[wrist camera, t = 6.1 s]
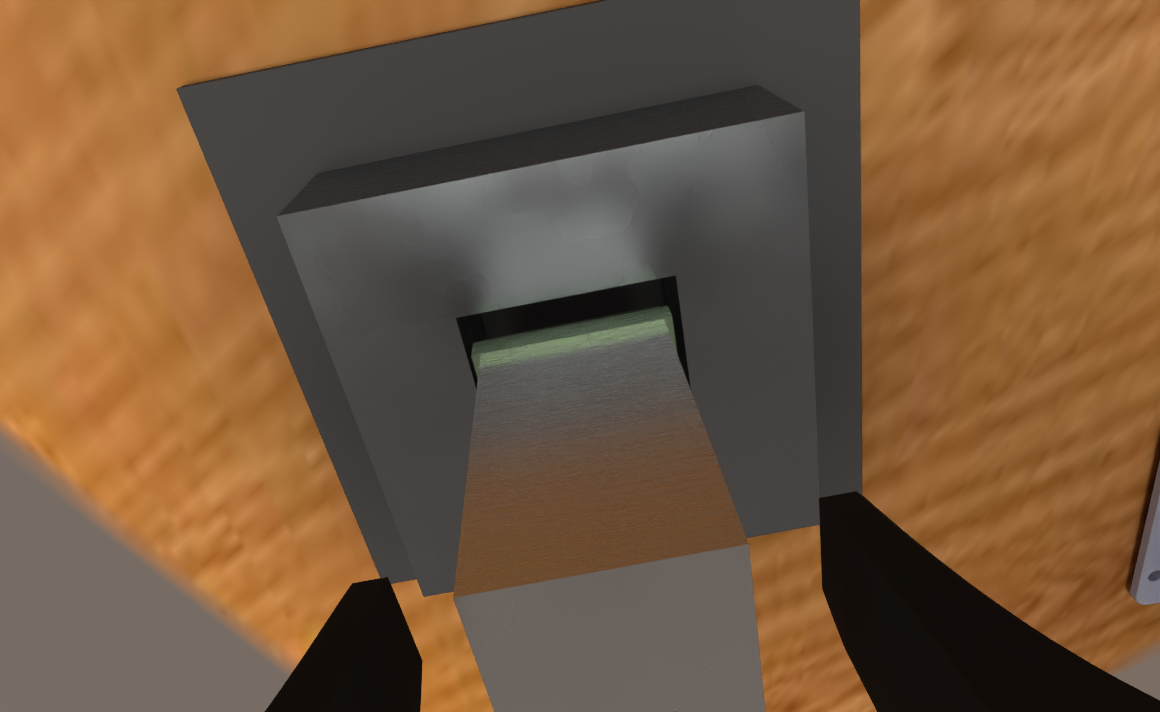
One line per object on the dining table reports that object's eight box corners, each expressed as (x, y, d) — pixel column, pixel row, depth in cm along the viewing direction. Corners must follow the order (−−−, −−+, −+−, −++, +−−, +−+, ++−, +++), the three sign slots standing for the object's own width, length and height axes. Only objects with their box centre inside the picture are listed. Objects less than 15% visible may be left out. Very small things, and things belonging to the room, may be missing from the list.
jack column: (686, 454, 19) (778, 738, 12) (516, 486, 19) (511, 785, 12) (664, 297, 17) (759, 533, 10) (474, 334, 17) (439, 591, 10)
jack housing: (782, 459, 24) (821, 535, 21) (440, 523, 24) (427, 607, 21) (757, 84, 18) (804, 111, 15) (317, 172, 19) (276, 216, 16)
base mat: (856, 487, 25) (862, 497, 25) (385, 574, 26) (383, 585, 25) (851, -51, 18) (859, -52, 17) (185, 85, 18) (176, 88, 18)
